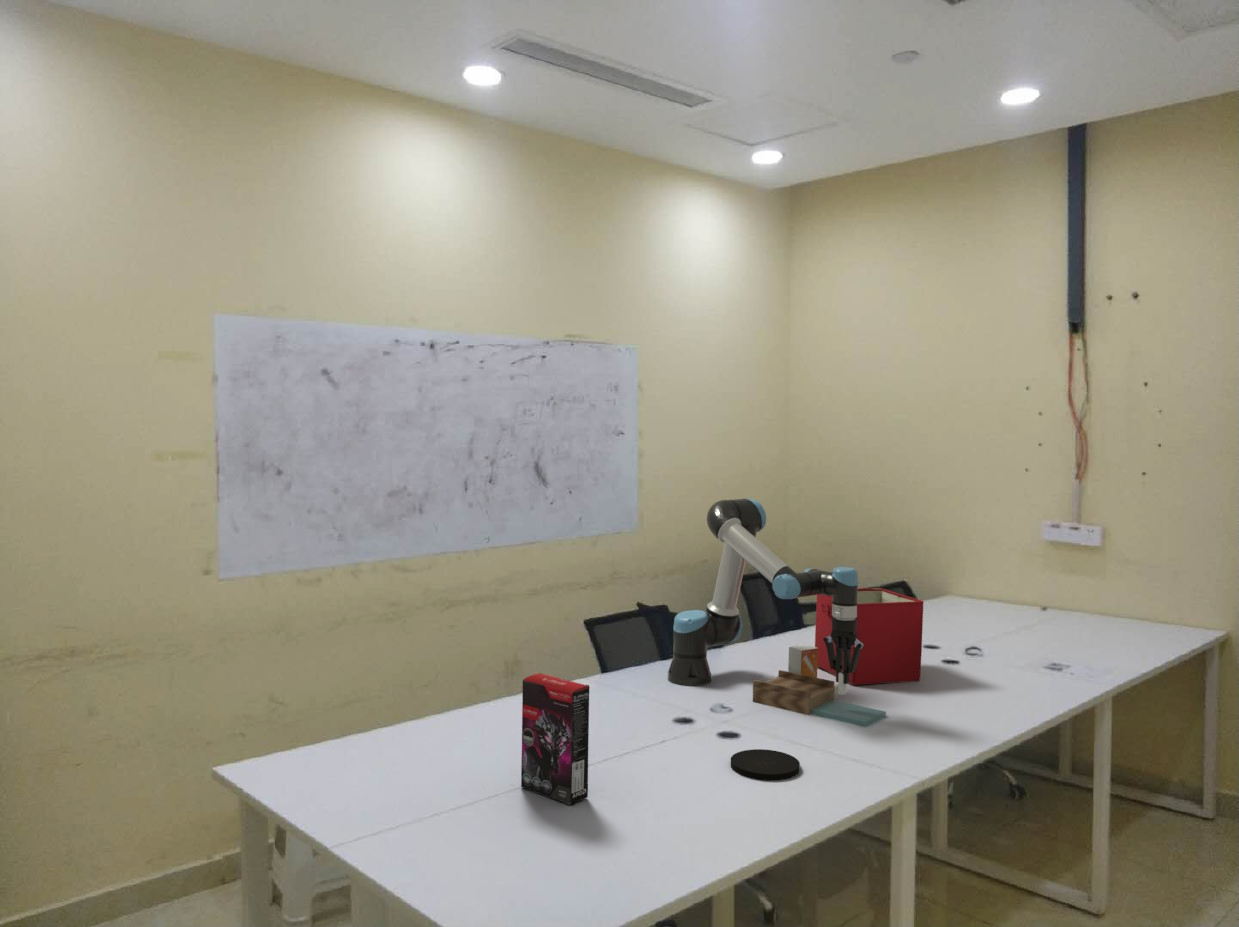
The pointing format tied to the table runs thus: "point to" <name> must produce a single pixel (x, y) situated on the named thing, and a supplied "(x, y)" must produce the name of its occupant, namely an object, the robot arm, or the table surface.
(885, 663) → the storage cube
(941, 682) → the table surface
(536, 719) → the graphics card box
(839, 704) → the cover plate
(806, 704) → the walnut case
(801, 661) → the small box
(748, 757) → the wireless charger
